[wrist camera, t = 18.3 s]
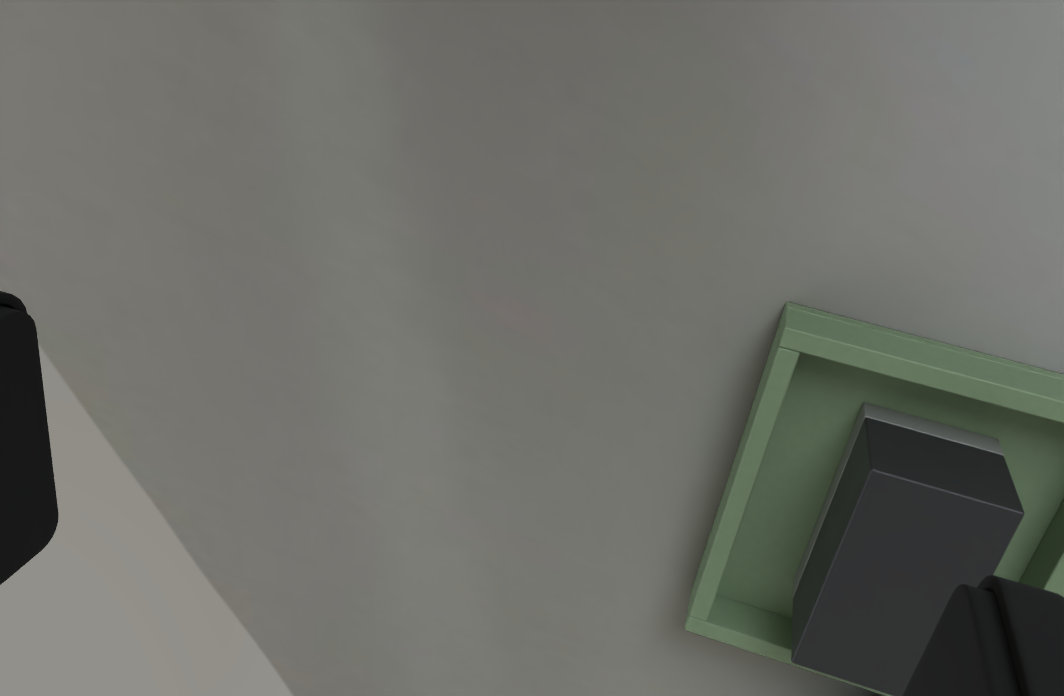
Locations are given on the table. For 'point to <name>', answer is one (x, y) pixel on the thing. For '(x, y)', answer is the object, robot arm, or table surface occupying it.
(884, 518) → the eraser
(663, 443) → the table surface
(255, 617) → the table surface
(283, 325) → the table surface
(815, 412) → the tray
